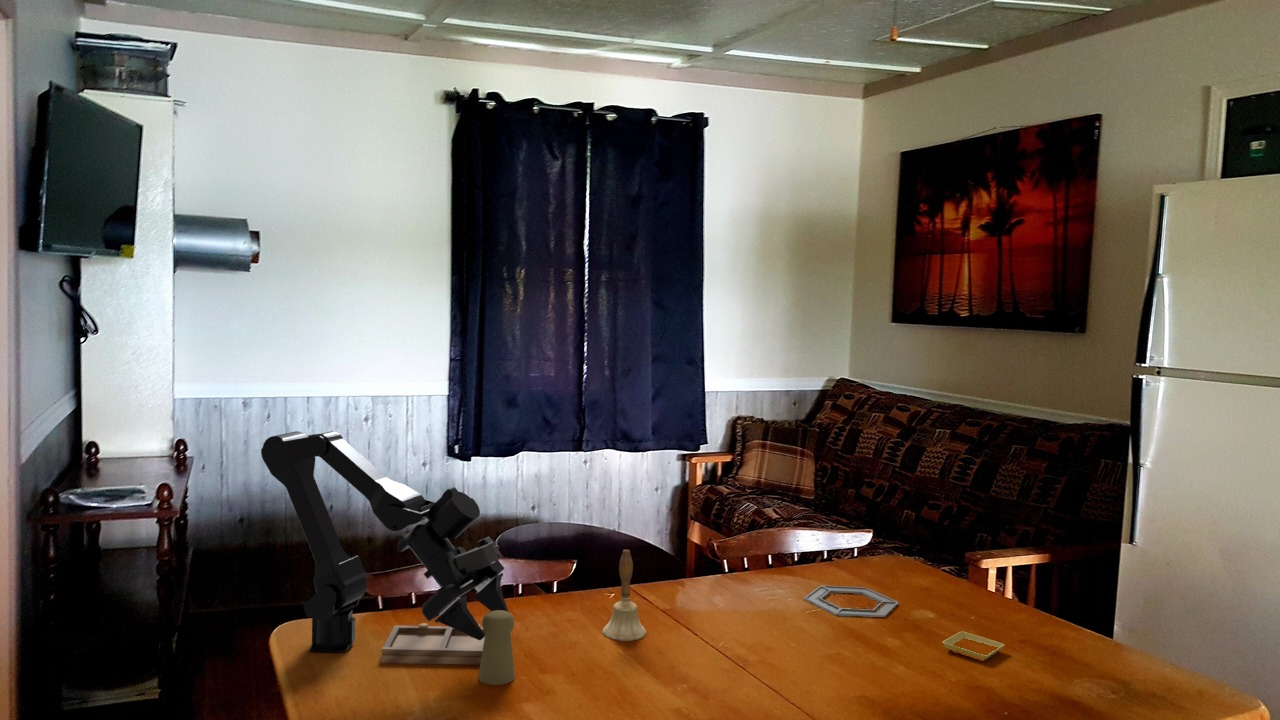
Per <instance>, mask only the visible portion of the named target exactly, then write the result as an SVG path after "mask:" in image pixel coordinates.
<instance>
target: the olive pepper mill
mask: <svg viewBox="0 0 1280 720" xmlns="http://www.w3.org/2000/svg"><path fill="white" fill-rule="evenodd" d="M514 619H515V618H514V616H513V614H512V613H511V612H507V611H503V610H495V611H488V612H487V613H486V614H485V615H484V616H483V618H482V623H481V625H482V626H481V627H483V630H484V631H485V639H484V645H483V651H482V657H481V663H480V665H479V671H478V678H477V679H478V680H479V682H481V683H482V684H486V685H489V686H501V685H506V684H510V683H511V682H513V681H514V680H515V678H516V675H515V674H516V673H515V665H514V663H515V662H514V654H513V644H512V643H513V642H512V635H511V634H512V631H513V629H514V626H515V620H514Z"/></svg>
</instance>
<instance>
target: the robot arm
mask: <svg viewBox="0 0 1280 720" xmlns="http://www.w3.org/2000/svg"><path fill="white" fill-rule="evenodd" d="M260 453H261V459H262V461H263V462H264V464H265V466H266V467H267V469H268V470H269V473H270V475H271V476H272V477H273V478H275V479H276V480H277V481H279V482H280V483H281V484H282V485H283V486H284V487H285V489H286V492H287V494H288V497H289V499H290V501H291V503H292V506H293V509H294V511H295V514H296V516H297V519H298V521H299V523H300V526H301V529H302V531H303V534H304V536H305V539H306V541H307V544H308V546H309V550H310V551H311V554H312V557H313V559H314V562H315V569H314V574H313V576H314V577H313V583H314V587H315V592H316V593H315V594H313V596H312V597H311V598H310V599H308V601H306V602H305V603H304V605H303V609H304V613H305V614H304V615H305V616H306V618H310V619H311V644H310V646H309V647H308V652H315V653H317V652H318V653H319V652H320V653H321V652H322V653H346V652H347V651H348V650H349V648H350V647H351V645H353V643H354V641H355V640H356V620H357V619H356V617H355V616H354V617H353V608H354V607H355V608H356V607H358V606H359V604H360V600H361V598H362V597H363V596H364V595H365V594H366V591H367V588H368V580H367V577H368V576H369V574H368V573H367V572H366V570H365V568H364V566H363V563H362V560H361V557H360V556H359V555H356V556H353V557H351V556H350V555H349V554H347V553H346V552H345V550H344V549H343V546H342V544H341V541H340V539H339V536H338V533H337V531H336V529H335V527H334V524H333V521H332V519H331V516H330V514H329V511H328V509H327V506H326V504H325V501H324V498H323V496H322V493H321V491H320V489H319V487H318V483H317V481H316V479H315V476H314V475H315V474H314V473H315V465H316V457H319V458H321V460H323V462H325V463H326V464H327V465H328V466H329V467H330V468H332V469H333V470H334V471H335V472H336V473H338V475H340V476H341V477H342V478H343V479H344V480H345V481H346V482H348V483H349V484H350V485H351V486H352V487H353V488H355V489H356V490H357V491H358V492H359V493H360V494H362V495H363V496H364V497H365V499H367V501H368V502H369V505H370V508H371V511H372V513H373V514H374V515H375V516H376V518H377V520H379V521H380V522H381V525H383V527H385V528H386V529H387V530H388V531H391V532H399V531H403V530H404V529H407V528H409V527H412V526H414V525H415V526H414V528H413V529H411V530H410V531H408V532H404V533H401V534H399V535H398V543H397V549H396V550H397V552H398V553H402V552H403V551H405V550H409V549H411V551H412V552H413V554H414V555H415V557H416V558H417V559H418V560H419V562H420V563H421V564H422V565H423V566H424V568H425V570H426V571H425V572H424V573H423V575H424V576H425V578H426V579H427V580H428V579H429V578H433V579H434V581H435V582H436V583H437V585H438V586H439V587H440V588H438V589H437V590H436V591H435V592H434V593H433V594H432V595H431V596H430V597H429V598H428V599H427V600H426V601H425V602H423V604H422V605H421V614H422V616H424V618H425V619H426V621H427V622H428V623H430V622H431V621H433V620H434V623H436V624H438V623H441V624H443V625H444V626H449V627H452V628H454V629H457V630H459V631H461V632H463V633H465V634H467V635H469V636H471V637H473V638H475V639H477V640H482V639H483V638H484V637H485V636H484V634H483V632H482V630H481V628H480V627H479V625H480V624H479V625H478V622H477V620H476V619H475V618H474V616H473V615H472V613H471V612H470V610H469V609H468V601H467V600H468V599H467V598H468V597H467V594H466V593H469V592H470V593H472V594H475V595H474V596H473V598H474V599H475V600H476V601H477V602H479V603H480V604H481V605H483V606H484V607H485V608H487V610H489V612H491V611H495V610H503V611H507V612H509V609H508V606H507V604H506V603H507V602H506V600H505V598H504V595H503V592H502V588H501V582H502V578H503V577H504V572H503V571H504V570H505V568H506V567H504V565H503V564H502V563H501V562H500V561H499V557H498V553H499V549H500V546H499V545H498V544H496V542H495V541H494V540H493V539H492V538H491V537H490V536H487V537H484V538H482V539H480V540H478V541H477V542H476V547H475V548H472V549H470V550H468V551H466V549H465V548H464V547H463V546H460V545H458V546H457V547H455V546H454V545H453V544H452V542H451V540H449V539H454V540H455V539H457V538H458V537H459V536H460V535H461V534H463V532H465V531H466V530H467V529H468V528H469V527H470V526H471V525H472V524H473V523H474V521H476V520H477V519H478V518H479V517H480V515H481V510H480V507H479V505H478V503H477V502H476V501H475V499H474V498H473V497H470V496H469V495H468V494H466V493H465V492H461V491H459V490H458V489H457V488H456V487H455V486H451V487H449V488H447V490H446V489H445V491H444V492H443V494H442V496H441V497H440V498H439V499H437V500H436V501H434V500H431V499H427V498H425V497H424V495H422V494H421V493H419V491H418V492H417V491H416V490H415V489H412V488H411V487H410V486H408V485H406V484H404V483H401V482H398V481H395V480H392V479H390V478H389V477H388V476H386V475H385V474H384V473H383V472H381V470H379V469H378V468H377V467H376V466H374V465H373V463H371V462H370V461H369V460H368V459H366V458H365V457H364V456H363V455H362V454H361V453H360V452H359V451H358V450H356V449H355V448H354V447H353V446H352V445H351V444H349V443H348V442H347V441H346V440H345V439H344V437H343V436H342V435H341V433H340V432H337V431H334V430H332V431H327V432H323V433H314V434H307V433H304V432H303V431H302V432H301V431H299V430H298V431H295V430H294V431H291V432H290V431H289V432H287V433H281V434H277V435H272V436H269V437H267V438H266V439H265V440H264V442H263V445H262V448H261V449H260ZM426 520H428V521H427V522H425V523H424V524H423V523H420V522H422V521H426ZM418 523H420V524H418ZM416 524H417V525H416ZM509 613H510V612H509Z"/></svg>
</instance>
